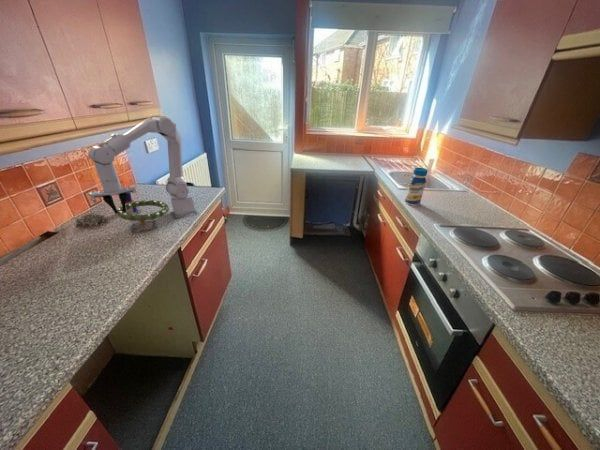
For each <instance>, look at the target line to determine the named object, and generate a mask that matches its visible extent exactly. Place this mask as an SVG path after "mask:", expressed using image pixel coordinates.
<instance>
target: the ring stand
mask: <svg viewBox="0 0 600 450" xmlns="http://www.w3.org/2000/svg"><path fill="white" fill-rule="evenodd" d="M138 222H139V226H141V227H143V226H146V224H147V223H146V220H145V221H138Z"/></svg>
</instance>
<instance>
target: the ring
mask: <svg viewBox="0 0 600 450" xmlns="http://www.w3.org/2000/svg"><path fill="white" fill-rule="evenodd" d="M134 201H135V202H130V203H127V204H126V205H125V207H126V210H128V209H130V208H134V207H136V208H138V207H147V206H149V207H150V206H151V207H159V208H161V209H160V210H158V211H156V212H151V213H144V214H133V213H130V214H127V213H125V212H124V210H123V206H122V205H120V206H119V207H118V208H116V209H117V214H116V215H117V216H118V217H119V218H121V219H123V220H126V221H131V222H139V221H145V222H146V221H151V220H155V219H159V218H161V217H164V216H166V215H167V214H168V212H169V211H170V208H169V205H168V204H167V203H165V202H163V201H160V200H156V199H155V200H154V199H153V200H150V199H149V200H148V199H147V200H146V199H144V200H143V199H142V200H134Z"/></svg>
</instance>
